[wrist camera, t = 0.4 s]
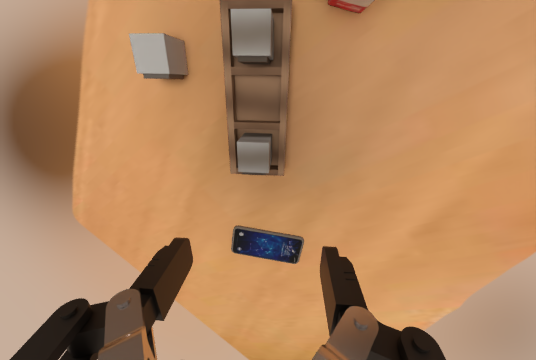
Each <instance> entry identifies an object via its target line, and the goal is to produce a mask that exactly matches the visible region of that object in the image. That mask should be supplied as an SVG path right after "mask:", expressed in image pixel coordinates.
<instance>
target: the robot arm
mask: <svg viewBox="0 0 536 360" xmlns="http://www.w3.org/2000/svg"><path fill="white" fill-rule="evenodd" d="M192 263H193V256H192V251H191V246H190V241H189V239H188V238H174V239H173V241H172V242H171V243H170V245H169V246H164V247H163V248H162V249H160V250H159V251H158V252H157V253H156V254H155V256H154V257H153V258H152V260H151V261H150V262H149V263H148V266H146V267H145V269H144V270H143V271H142V273H141V274H140V275H139V277H138V278H137V279H136V281H135V282H134V283H133V285H132V286H131V287H130V289H126V290H123V291H121V292H119V293H118V294H116V295H115V296H113V297H112V298H111V299H110V301H108V302H103V303H99V304H94V305H90V304H89V303H88V301H87V300H86V299H75V300H72V301H70V302H68V303H66V304H64V305H62V306H61V307H60V308H58V309H57V310H56V311H55V312H54V313H53V314H52V315H51V316H50V317H49V319H48V320H47V321H46V322H45V323H44V324H43V325H42V326H41V327H40V328H39V329H38V330H37V331H36V332H35V333H34V334H33V335H32V337H31V338H30V339H29V340H28V341H27V342H26V343H25V344H24V345H23V346H22V347H21V349H19V350H18V352H17V353H16V354H15V355H14V356H13V357H12V358H11V359H10V360H58V359H59V358H60V356H61V355H62V354H63V353H64V351H65V350H66V349H67V351H66V352H65V353H64V355H63V356H62V357H61V359H60V360H97V359H98V360H157V356H156V348H155V341H154V335H153V329H152V325H153V324H154V322H155V320H160V321H164V319H165V317H166V315H167V313H168V311H169V309H170V307H171V305H172V304H173V302H174V300H175V298H176V296H177V294H178V292H179V290H180V288H181V286H182V284H183V282H184V280H185V278H186V277H187V275H188V273H189V271H190V269H191V266H192ZM320 278H321V284H322V290H323V297H324V303H325V310H326V316H327V322H328V329H329V335H330V338H329V339H328V341H327V343H326V344H325V345H322V346H321V347H320V348H319V349H318V351H317V352H316V354H315V356H314V357H313V359H312V360H446V359H445V357H444V355H443V353H442V351H441V349H440V347H439V345H438V344H437V342H436V341H435V340H434V339H433V338H432V337H431V336H430V335H429V334H428V333H426V332H425V331H423V330H421V329H419V328H416V327H406V328H404V329H403V330H402V332H401V331H399V330H396V329H394V328H391V327H388V326H386V325H384V324H382V323H380V322H379V321H377V320H376V318H375V317H374V316H373V314H372V313H371V312H369V310H368V308H367V306H366V303H365V300H364V297H363V294H362V291H361V288H360V285H359V282H358V279H357V276H356V274H355V271H354V268H353V265H352V263H351V262H350V261H349V260H348V259H347V257H339V254H338V250H337V248H336V247H327V246H323V248H322V256H321V263H320Z"/></svg>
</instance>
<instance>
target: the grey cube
mask: <svg viewBox="0 0 536 360" xmlns="http://www.w3.org/2000/svg"><path fill="white" fill-rule="evenodd" d="M129 36H130V41H131V46H132V51H133V55H134V60H135V65H136V70H137V73H141V74H143V75H144V78H152V79H183V75H188V68H187V60H186V52H185V44H184V41H182V40H179V39H177V38H174V37H171V36H169V35H166V34H163V33H139V34H129Z"/></svg>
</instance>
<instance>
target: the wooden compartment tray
mask: <svg viewBox="0 0 536 360" xmlns="http://www.w3.org/2000/svg"><path fill="white" fill-rule="evenodd" d="M220 13H221V29H222V45H223V61H224V77H225V93H226V109H227V124H228V140H229V156H230V172H231V173H233V174H249V175H278V176H284V166H285V144H286V123H287V101H288V79H289V58H290V36H291V14H292V0H220Z"/></svg>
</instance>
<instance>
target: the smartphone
mask: <svg viewBox="0 0 536 360" xmlns="http://www.w3.org/2000/svg"><path fill="white" fill-rule="evenodd" d="M303 244H304V239H303V238H302V237H299V236H295V235H290V234H283V233H277V232H271V231H266V230H260V229H254V228H249V227H243V226H235V227H234V229H233V237H232V247H231V250H232V252H234V253H237V254H242V255H248V256H253V257H259V258H264V259H270V260H275V261H281V262H286V263H292V264H296V263H298V262H299V258H300V255H301V251H302V248H303Z"/></svg>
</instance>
